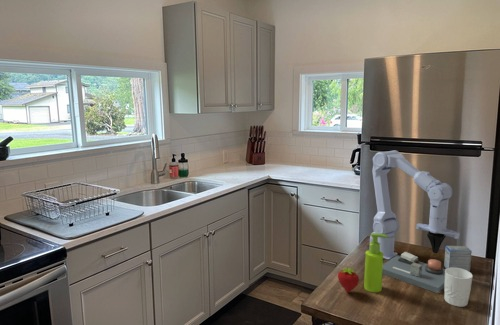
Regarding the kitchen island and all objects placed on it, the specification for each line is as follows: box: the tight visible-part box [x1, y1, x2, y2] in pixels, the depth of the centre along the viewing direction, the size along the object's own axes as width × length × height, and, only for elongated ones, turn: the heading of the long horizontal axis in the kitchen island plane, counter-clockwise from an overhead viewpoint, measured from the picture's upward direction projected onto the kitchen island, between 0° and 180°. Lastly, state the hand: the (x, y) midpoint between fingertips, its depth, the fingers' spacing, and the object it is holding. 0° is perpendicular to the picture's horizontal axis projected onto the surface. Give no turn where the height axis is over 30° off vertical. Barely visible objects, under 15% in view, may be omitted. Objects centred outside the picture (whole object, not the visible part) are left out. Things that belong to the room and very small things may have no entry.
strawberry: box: [337, 267, 360, 293], centre depth 130 cm, size 6×8×10 cm
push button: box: [427, 258, 442, 270], centre depth 141 cm, size 4×4×2 cm
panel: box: [382, 254, 446, 294], centre depth 142 cm, size 22×16×3 cm
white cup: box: [443, 268, 474, 308], centre depth 123 cm, size 8×8×10 cm
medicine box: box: [443, 245, 472, 272], centre depth 146 cm, size 8×4×9 cm, turn 84°
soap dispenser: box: [363, 232, 388, 293], centre depth 131 cm, size 6×7×20 cm
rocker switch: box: [400, 251, 419, 263], centre depth 148 cm, size 5×4×1 cm
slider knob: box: [410, 263, 422, 277], centre depth 138 cm, size 3×3×4 cm
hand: (435, 252), depth 140 cm, fingers closed
